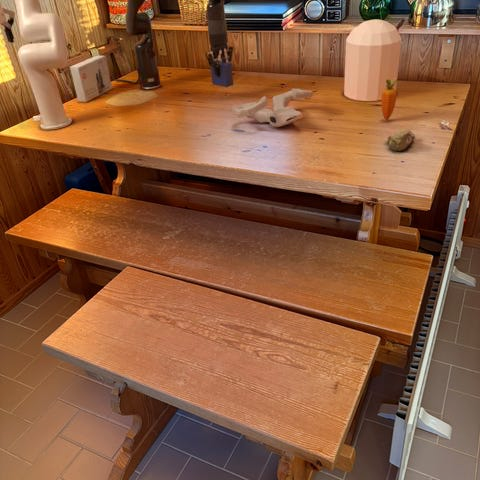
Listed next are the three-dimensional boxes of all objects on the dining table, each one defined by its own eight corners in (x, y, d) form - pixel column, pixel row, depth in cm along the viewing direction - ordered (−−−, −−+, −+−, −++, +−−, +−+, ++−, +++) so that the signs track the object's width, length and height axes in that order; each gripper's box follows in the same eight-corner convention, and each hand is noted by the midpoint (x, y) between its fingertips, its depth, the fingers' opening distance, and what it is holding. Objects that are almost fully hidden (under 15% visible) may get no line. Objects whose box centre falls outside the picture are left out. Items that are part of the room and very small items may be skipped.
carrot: (394, 118, 167) (398, 76, 158) (393, 123, 163) (397, 80, 154) (379, 117, 168) (383, 75, 160) (378, 122, 165) (382, 80, 156)
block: (226, 87, 193) (224, 65, 188) (212, 84, 199) (210, 62, 194) (233, 85, 196) (231, 63, 191) (219, 81, 201) (217, 60, 196)
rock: (408, 140, 153) (379, 139, 152) (414, 122, 149) (384, 120, 148) (421, 154, 144) (391, 153, 143) (428, 135, 140) (396, 133, 139)
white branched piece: (230, 133, 167) (227, 101, 161) (244, 110, 188) (241, 81, 182) (308, 133, 161) (308, 99, 155) (313, 109, 182) (314, 78, 176)
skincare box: (87, 102, 214) (77, 67, 204) (78, 102, 215) (68, 66, 206) (113, 88, 229) (105, 54, 220) (104, 88, 231) (96, 54, 222)
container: (365, 104, 181) (370, 27, 165) (333, 91, 197) (335, 20, 181) (407, 93, 187) (416, 18, 171) (373, 81, 203) (378, 12, 188)
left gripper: (-53, -11, 129) (-28, 53, 139) (7, -20, 139) (27, 40, 148) (-61, -12, 134) (-36, 50, 144) (-2, -20, 143) (18, 38, 153)
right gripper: (210, 35, 179) (215, 80, 189) (236, 28, 187) (239, 71, 197) (198, 34, 183) (203, 77, 193) (224, 26, 191) (227, 69, 201)
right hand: (221, 74), depth 195 cm, fingers closed on block, 4 cm apart
